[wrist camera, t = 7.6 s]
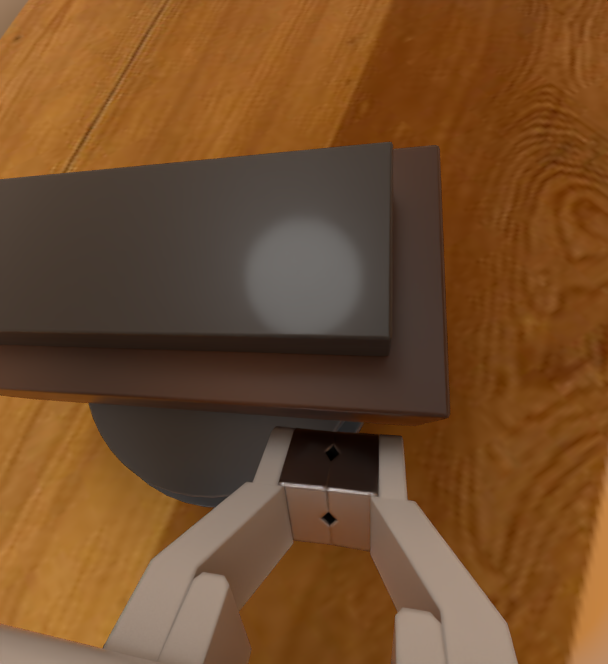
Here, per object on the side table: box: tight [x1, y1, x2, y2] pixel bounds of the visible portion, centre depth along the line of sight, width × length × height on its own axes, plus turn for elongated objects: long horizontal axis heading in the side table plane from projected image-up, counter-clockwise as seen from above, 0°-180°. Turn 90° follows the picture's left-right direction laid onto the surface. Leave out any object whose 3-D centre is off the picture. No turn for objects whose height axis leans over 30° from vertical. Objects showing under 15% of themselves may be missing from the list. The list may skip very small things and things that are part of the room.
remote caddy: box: [0, 142, 450, 498], centre depth 10 cm, size 14×11×8 cm
